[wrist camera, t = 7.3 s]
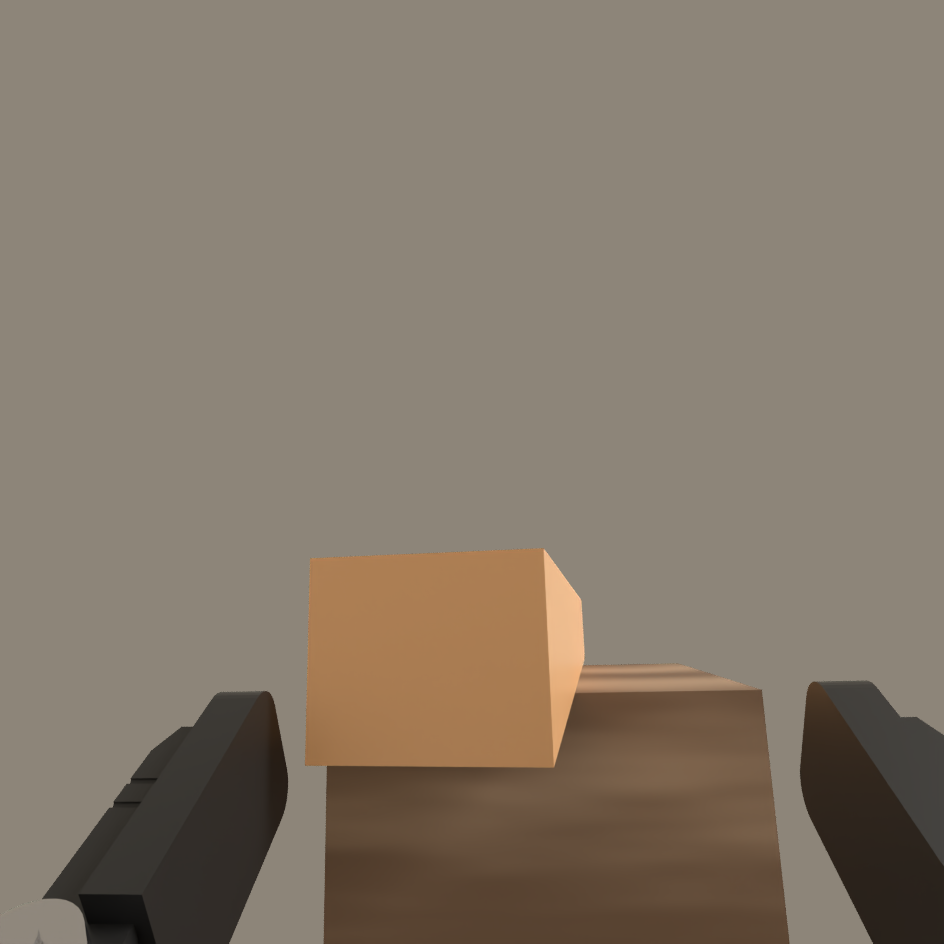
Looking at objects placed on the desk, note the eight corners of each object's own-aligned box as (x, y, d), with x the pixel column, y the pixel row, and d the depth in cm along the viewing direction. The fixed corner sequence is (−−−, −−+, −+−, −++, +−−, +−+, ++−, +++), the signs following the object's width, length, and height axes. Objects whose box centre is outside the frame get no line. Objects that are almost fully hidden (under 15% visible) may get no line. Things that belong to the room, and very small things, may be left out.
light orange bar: (553, 768, 9) (543, 548, 10) (305, 765, 10) (310, 558, 11) (584, 658, 36) (581, 600, 37) (516, 659, 37) (514, 602, 38)
